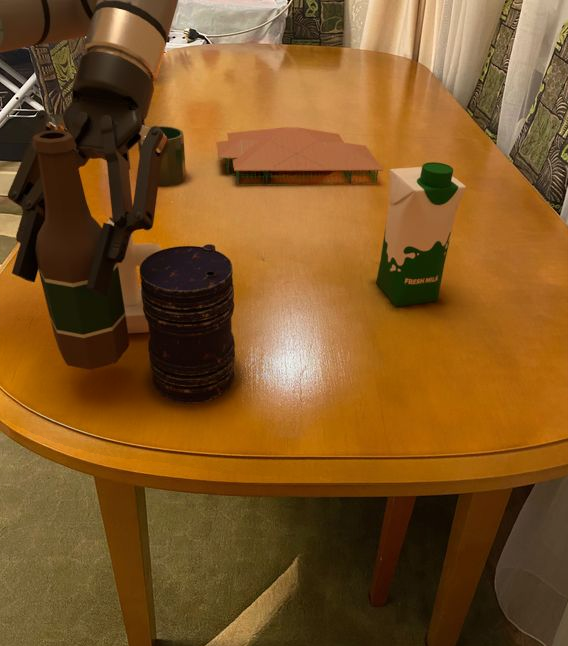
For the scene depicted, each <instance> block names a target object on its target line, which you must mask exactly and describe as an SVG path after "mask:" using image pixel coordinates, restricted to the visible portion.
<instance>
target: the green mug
mask: <svg viewBox="0 0 568 646" xmlns="http://www.w3.org/2000/svg"><path fill="white" fill-rule="evenodd" d="M148 127H149V128H151V127H152V126H148ZM158 127H159V128H160V129H161V130H162V132H163V133H164V135H165V136H166V137H167V139H168V140H169V146H168V148H167V150H166V152H165V154H164V156H163V158H162V161H161V168H160V176H159V184H158V187H161V188H163V187H164V188H165V187H166V188H167V187H175V186H178V185H180V184H183V183H185V182H186V179H187V169H186V154H185V153H186V152H185V151H186V150H185V138H184V137H185V135H184V132H183V130H182V129H180V128H176V127H173V126H165V125H159V126H158ZM137 145H138V146H137V147H138V154H139V157H140V151H141V147H142V145H141V140H140V141H139V142H138V143H137Z"/></svg>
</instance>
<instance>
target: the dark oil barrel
mask: <svg viewBox="0 0 568 646" xmlns="http://www.w3.org/2000/svg"><path fill="white" fill-rule="evenodd" d="M138 270H139V278H140V284H141V285H140V286H141V287H142V288H141V296H142V302H143V312H144V314H145V318H146V320H147V321H148V327H149V332H148V334H149V338H148V341H147V342H148V343H147V350H148V351H147V352H148V359H149V366H150V370H151V374H152V382H153V383H152V384H153V386H154V389H155V390H156V391H157V393H158V394H159V395H161V396H162V397H164V399H165V398H166V399H167V400H170V401H172V402H176V403H180V404H201V403H206V402H210V401H212V400H215V399H218V398H219V397H221V396H223V395H224V394H225V393H227V392H228V390H230V389H231V387H232V386H233V384H234V382H235V363H236V343H235V337H234V334H233V332H232V327H233V326H232V317H233V314H234V310H235V301H234V300H235V287H234V278H233V271H234V270H233V263H232V260H231V259H230V258H229V257H227V255H225V254H224V253H222V252H220V251H218V250H216V245H215V244H211V243H209V244H204V245H203V246H197V245H181V246H180V245H179V246H172V247H167V248H164V249H162V250H160V251H157V252H155V253H153V254H151V255H150V256H148V257H147V258H146V259H144V260H143V262H142V263H141V265H140V266H139V269H138Z"/></svg>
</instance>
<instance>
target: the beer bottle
mask: <svg viewBox="0 0 568 646" xmlns="http://www.w3.org/2000/svg"><path fill="white" fill-rule="evenodd" d="M32 136H33V135H32ZM32 147H33V148H34V149H35V151H36V152H37V154H38V160H39V167H40V174H41V180H42V187H43V194H44V201H45V221H44V223H43V225H42V227H41V229H40V231H39V232H38V234H37V240H36V246H35V253H36V259H37V266H38V274H39V278H40V283H41V286H42V290H43V294H44V298H45V303H46V307H47V311H48V315H49V319H50V323H51V328H52V331H53V335H54V339H55V342H56V345H57V349H58V351H59V353H60V355H61V358H62V359H63V362H64V364H66V365H67V366H68V367H73V368H78V369H84V370H89V371H92V370H97V369H99V368H103V367H106V366H110V365H113V364H116V363H118V361H119V360H120V359H121V358H122V356H123V355H124V354H125V352H126V351H127V350H128V349H129V346H130V340H129V338H130V337H129V333H128V328H127V322H126V315H125V309H124V302H123V295H122V289H121V282H120V276H119V269H118V263H117V262H115V266H114V269H113V273H112V277H111V281H110V284H109V288H108V292H107V296H104V295H99V294H97V293H95V292H93V291H92V290H90V289H88V288H86V286H87V282H88V278H89V275H90V271H91V267H92V264H93V260H94V256H95V253H96V249H97V245H98V242H99V238H100V234H101V231H102V227H103V226H102V225H100V223H99V222H98V221H97V220H96V219H95V218H94V217H93V216H92V213H91V211H90V210H91V209H90V208H89V205H88V203H87V199H86V198H87V197H86V194H85V190H84V185H83V182H82V178H81V177H82V176H81V173H80V168H79V169H78V165H77V161H76V156H75V152H74V150H75V149H76V147H77V145H76V143H75V141H74V138H73V136H72V135H71V134H70V133H69V132H68V131H65V130H63V131H59V130H50V131H43V132H41V133H39V134H37V135H35V136H33V142H32Z"/></svg>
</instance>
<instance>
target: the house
mask: <svg viewBox="0 0 568 646" xmlns="http://www.w3.org/2000/svg"><path fill="white" fill-rule="evenodd" d="M226 135H227V140H223V141H222V140H221V141H216V142H215V143H216V150H217V156H218V159H221V160H222V161H225V165H226V171H227V175H228V176H229V175H236V180H237V185H238V186H261V185H262V186H266V185H267V186H268V185H269V186H270V185H271V186H272V185H273V186H275V185H279V186H280V185H282V186H283V185H286V186H287V185H290V186H291V185H293V181H292V180H293V177H290V181H291V182H290V183H289V178H287V181H286V183H285V179H283V180H282V181H283V182H282V183H281V180H279V181H278V182H279V183H277V181H275V183H273V182H271V183H269V177H270V178H273V172H307V175H306V180H308V179H309V172H311V174H310V178H313V175H312V174H313V172H315V174H314V177H317V174H316V173H317V172H319V173H318V176H321V174H320V173H321V172H322V174H324V172H326V173H329V172H341V171H342V172H343V173H341V178H343V177H345V180H346V181H345V182H344V185H352V183H351V182H352V175H356V174H357V173H360V172H364V174H361V179H364V177H365V178H367V177H368V175H369V177H370V178H371V179H372V183H370V181H371V179H369V181H368V183H367V181H365V183H364V185H377V182H378V175H379V174H378V173H379V171H384V168H383V167H382V166H381V164H380V163H379V162H378V160H377V159H376V158H375V156H374V155H373V154H372V152H371V151H370V149H369V148H368V147H367V145H366V144H365V145H364V144H359V143H350V142H344V140H343V138H342V137H341V136H340V134H339V133H335V132H331V131H329V132H328V131H323V130H316V129H311V128H306V127H298V126H297V127H295V126H294V127H292V126H290V127H289V126H285V127H274V128H265V129H263V128H262V129H254V130H246V131H245V130H244V131H243V130H242V131H235V132H227V133H226ZM229 159H230V164H229ZM230 166H231V168H232V169H231V171H232V172H231V173H230V171H229V170H230ZM233 171H234V172H235V173H233ZM240 172H251V175H250V178H253V177H254V178H256V172H258V173H259V175H258V177H259V178H261V177H262V179H264V180H265V184H264V183H253V184H252V183H246V184H245V183H242V184H241V183H240V177H242V178H248V175H243V173H240ZM260 172H262V173H263V174H262V175H263V176H262V175H260ZM269 172H270V176H269ZM353 172H354V173H353ZM278 177H279V178H281V175H275V178H278ZM285 177H287V175H283V178H285ZM298 177H299V178H298V183H300V180H301V179H300V178H301V174H298ZM333 177H334V178H333V180H334V181H333V182H335V180H336V176H333ZM339 177H340V174H338V175H337V180H339V179H340V178H339ZM357 177H358V179H357V181H360V180H359V177H360V176H357ZM294 178H295V180H294V182H295V183H294V184H297V182H296V181H297V180H296V179H297V175H294ZM302 179H303V181H305V180H304V179H305V173H303V175H302ZM327 181H328V179H326V182H325V185H328V183H327ZM355 181H356V178H354V182H353V183H355ZM329 184H332V177H330V179H329ZM321 185H324V181H322V183H321Z"/></svg>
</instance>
